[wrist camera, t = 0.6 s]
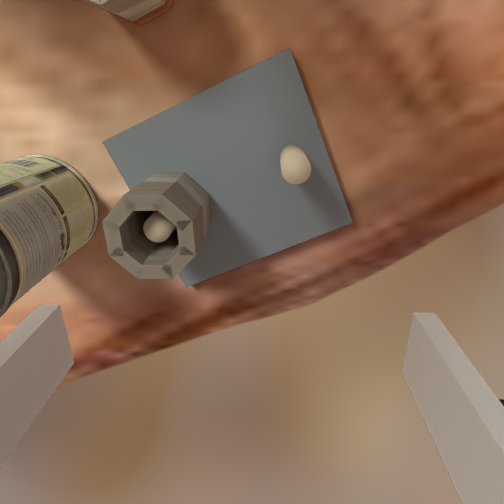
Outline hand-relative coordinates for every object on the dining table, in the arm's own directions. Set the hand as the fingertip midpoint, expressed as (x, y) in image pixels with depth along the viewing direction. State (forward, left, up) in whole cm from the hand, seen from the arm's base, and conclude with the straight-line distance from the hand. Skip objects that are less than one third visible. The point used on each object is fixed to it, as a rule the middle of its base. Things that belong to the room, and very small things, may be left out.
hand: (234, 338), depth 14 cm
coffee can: (-7, -20, -24) cm, 32 cm away
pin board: (-2, -2, -23) cm, 24 cm away
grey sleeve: (-2, -8, -22) cm, 24 cm away
